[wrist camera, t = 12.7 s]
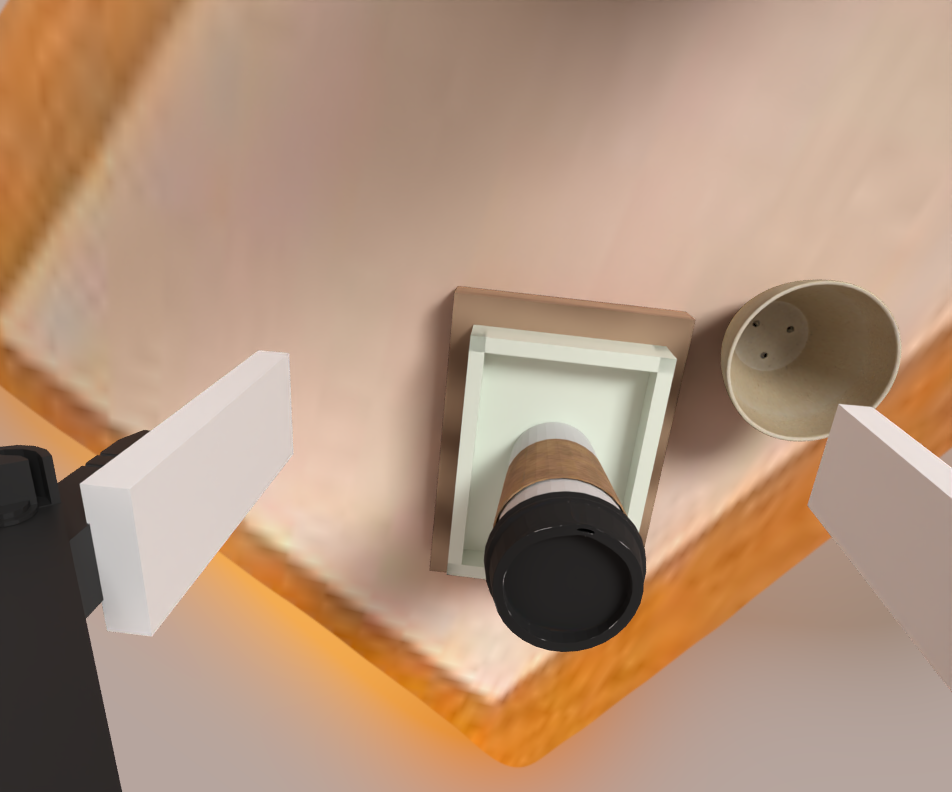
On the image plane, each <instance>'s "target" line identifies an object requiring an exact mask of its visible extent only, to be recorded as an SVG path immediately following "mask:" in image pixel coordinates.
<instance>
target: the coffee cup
mask: <svg viewBox="0 0 952 792" xmlns="http://www.w3.org/2000/svg"><path fill="white" fill-rule="evenodd" d="M484 567H485V575H486V582H487V585H488V588H489V591H490V593H491V595H492V597H493V600H494V603H495V606H496V609H497V612H498V613H499V615H500V617H501V619H502V620H503V622H504V623H505V624H506V626H507V627H508V628H509V629H510V630H511V631H512V632H513V633H514V634H516V635H517V636H518V637H520V638H521V639H522V640H524V641H526V642H528V643H530V644H532V645H534V646H536V647H539V648H543V649H546V650H551V651H560V652H570V651H580V650H584V649H589V648H592V647H595V646H597V645H600V644H602V643H604V642H606V641H608V640H609V639H611V638H612V637H614V636H616V635H617V634H618V633H619V632H620V631H621V630H622V629H623V628H624V627H626V626H627V624H628V623H629V622H630V620H631V619H632V618H633V616H634V615H635V613H636V611H637V609H638V607H639V605H640V602H641V599H642V595H643V585H644V579H645V575H646V556H645V549H644V545H643V541H642V538H641V536H640V534H639V532H638V530H637V528H636V526H635V525H634V523H633V522H632V521H631V520H630V519H629V518H628V516H627V514H626V512H625V510H624V508H623V506H622V504H621V502H620V501H619V499H618V497H617V495H616V493H615V491H614V489H613V487H612V485H611V483H610V481H609V479H608V477H607V475H606V473H605V471H604V469H603V468H602V466H601V464H600V462H599V460H598V458H597V456H596V453H595V451H594V449H593V447H592V445H591V443H590V441H589V440H588V439H587V437H586V436H585V435H584V434H583V433H582V432H581V431H579V430H578V429H576V428H575V427H573V426H571V425H568V424H565V423H560V422H546V423H542V424H538V425H535V426H533V427H531V428H529V429H528V430H527V431H525V432H524V433H523V434H522V435H521V436H520V437H519V438H518V439H517V441H516V443H515V444H514V446H513V449H512V452H511V456H510V461H509V466H508V471H507V473H506V477H505V481H504V485H503V489H502V493H501V497H500V500H499V504H498V508H497V512H496V516H495V520H494V524H493V529H492V531H491V533H490V534H489V537H488V540H487V543H486V546H485V552H484Z"/></svg>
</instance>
